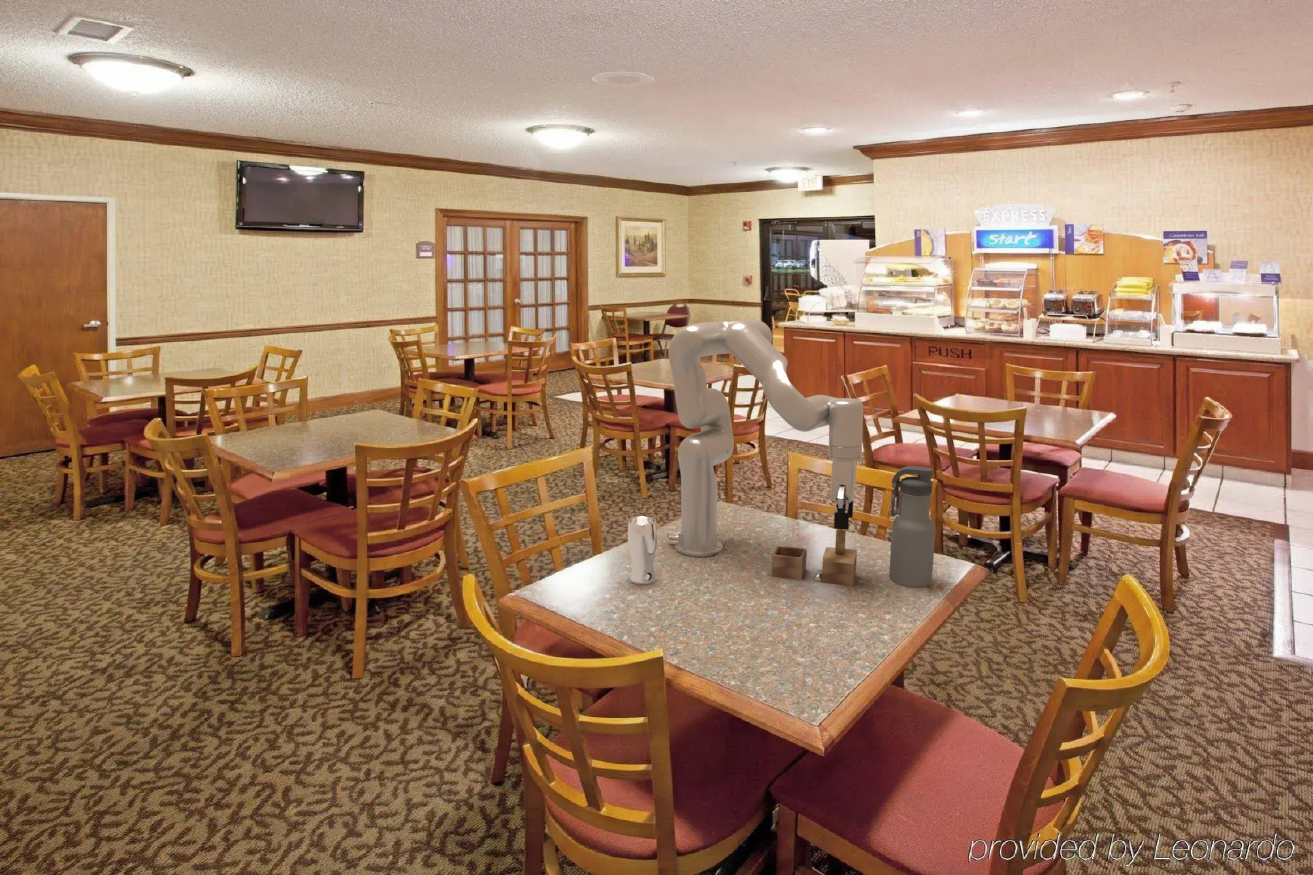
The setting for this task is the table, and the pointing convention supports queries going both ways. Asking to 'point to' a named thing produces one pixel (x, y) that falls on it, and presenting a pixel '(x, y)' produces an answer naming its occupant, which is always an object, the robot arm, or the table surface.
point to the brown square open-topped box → (838, 573)
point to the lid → (840, 550)
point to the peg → (818, 576)
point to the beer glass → (642, 548)
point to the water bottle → (912, 529)
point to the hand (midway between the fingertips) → (843, 522)
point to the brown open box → (789, 562)
